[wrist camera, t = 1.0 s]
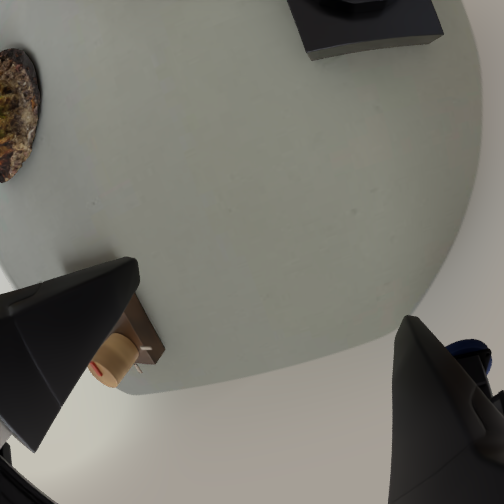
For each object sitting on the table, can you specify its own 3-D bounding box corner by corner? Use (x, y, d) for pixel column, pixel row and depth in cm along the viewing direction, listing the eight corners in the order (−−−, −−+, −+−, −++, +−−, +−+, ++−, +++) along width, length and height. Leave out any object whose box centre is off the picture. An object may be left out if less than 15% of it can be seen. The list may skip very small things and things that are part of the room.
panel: (178, 359, 32) (168, 376, 30) (113, 354, 36) (102, 367, 34) (131, 270, 28) (115, 284, 25) (69, 280, 32) (55, 291, 29)
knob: (144, 360, 30) (122, 392, 26) (120, 358, 31) (98, 387, 27) (128, 333, 28) (101, 364, 24) (104, 332, 30) (79, 360, 26)
